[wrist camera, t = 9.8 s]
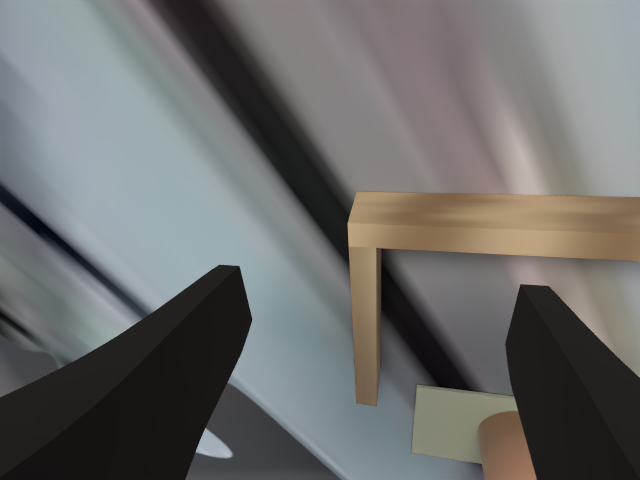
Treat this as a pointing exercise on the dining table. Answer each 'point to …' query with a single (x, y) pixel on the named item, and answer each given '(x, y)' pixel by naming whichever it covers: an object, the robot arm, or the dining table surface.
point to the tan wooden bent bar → (472, 244)
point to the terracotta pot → (504, 448)
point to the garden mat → (453, 421)
